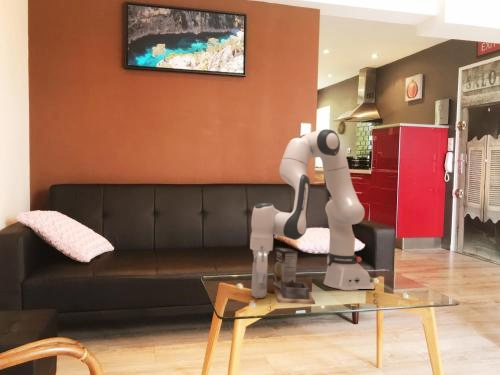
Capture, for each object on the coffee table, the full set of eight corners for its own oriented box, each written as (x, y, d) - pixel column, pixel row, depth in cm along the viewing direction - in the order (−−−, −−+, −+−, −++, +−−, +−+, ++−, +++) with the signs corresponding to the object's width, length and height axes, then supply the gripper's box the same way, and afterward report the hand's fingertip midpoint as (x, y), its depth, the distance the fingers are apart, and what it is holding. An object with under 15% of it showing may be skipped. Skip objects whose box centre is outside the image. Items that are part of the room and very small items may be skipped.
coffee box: (272, 284, 188) (274, 247, 188) (285, 283, 191) (287, 247, 190) (282, 290, 180) (284, 251, 180) (295, 289, 183) (297, 251, 182)
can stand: (308, 293, 177) (309, 281, 177) (315, 303, 163) (315, 290, 163) (274, 292, 176) (275, 279, 176) (278, 302, 162) (278, 289, 162)
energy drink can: (257, 293, 172) (259, 256, 172) (269, 297, 168) (271, 259, 168) (247, 296, 168) (249, 258, 167) (259, 300, 164) (262, 261, 163)
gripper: (272, 250, 157) (269, 287, 158) (267, 241, 178) (265, 274, 178) (254, 249, 157) (252, 286, 157) (252, 240, 177) (250, 273, 178)
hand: (259, 280), depth 168 cm, fingers closed on energy drink can, 6 cm apart
